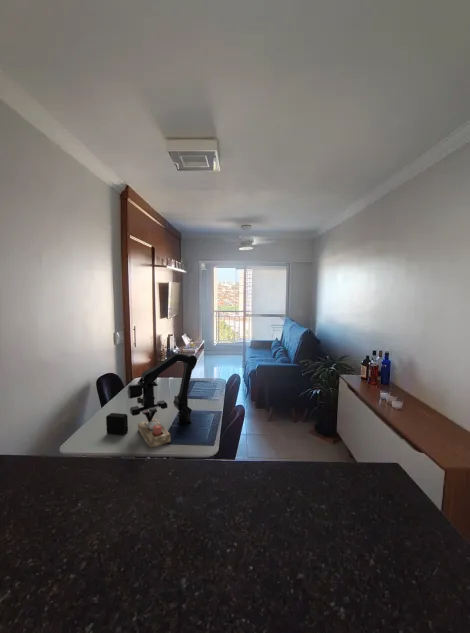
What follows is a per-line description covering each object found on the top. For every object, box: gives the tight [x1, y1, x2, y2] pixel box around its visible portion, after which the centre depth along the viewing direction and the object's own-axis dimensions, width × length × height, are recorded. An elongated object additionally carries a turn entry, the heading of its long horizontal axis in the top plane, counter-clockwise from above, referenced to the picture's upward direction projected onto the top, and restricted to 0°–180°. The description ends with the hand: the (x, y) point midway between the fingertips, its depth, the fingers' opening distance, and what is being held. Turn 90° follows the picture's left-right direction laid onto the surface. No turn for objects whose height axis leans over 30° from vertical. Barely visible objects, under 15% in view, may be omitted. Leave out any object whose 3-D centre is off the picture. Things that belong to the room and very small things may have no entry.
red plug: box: [153, 425, 162, 436], centre depth 149 cm, size 4×4×4 cm
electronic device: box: [105, 412, 129, 436], centre depth 158 cm, size 4×10×10 cm, turn 79°
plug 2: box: [149, 421, 157, 431], centre depth 154 cm, size 4×4×4 cm
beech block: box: [137, 418, 171, 448], centre depth 154 cm, size 10×22×4 cm, turn 33°
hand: (149, 423), depth 160 cm, fingers closed, pressing on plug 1
